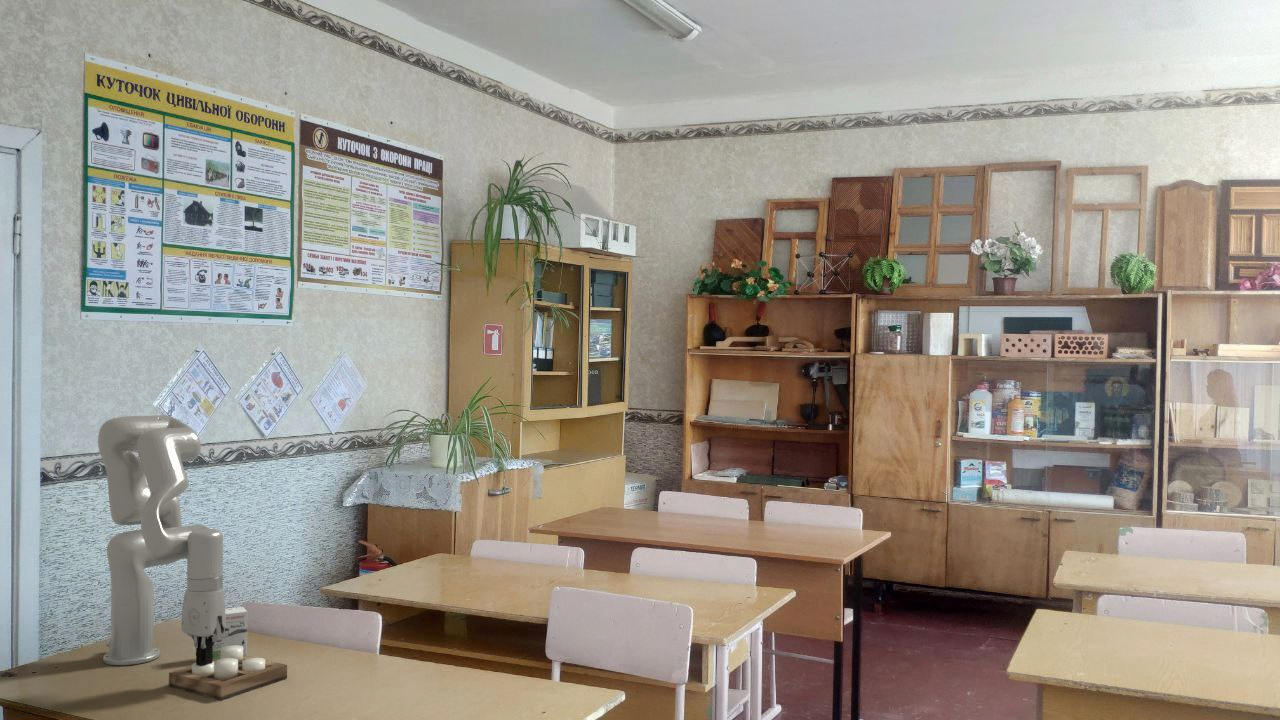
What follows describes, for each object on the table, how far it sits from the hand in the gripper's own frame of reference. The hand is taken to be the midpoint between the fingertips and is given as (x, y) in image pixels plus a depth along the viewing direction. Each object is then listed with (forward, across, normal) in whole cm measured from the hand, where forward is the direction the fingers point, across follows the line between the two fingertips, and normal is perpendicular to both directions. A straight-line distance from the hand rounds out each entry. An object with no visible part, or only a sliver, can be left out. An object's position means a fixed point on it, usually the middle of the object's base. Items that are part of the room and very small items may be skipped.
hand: (204, 664), depth 233 cm
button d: (+4, +7, +8) cm, 11 cm away
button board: (+5, +4, +4) cm, 7 cm away
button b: (+2, 0, +8) cm, 8 cm away
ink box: (+5, -13, +17) cm, 22 cm away
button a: (+3, 0, 0) cm, 4 cm away
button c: (+2, +7, 0) cm, 8 cm away
